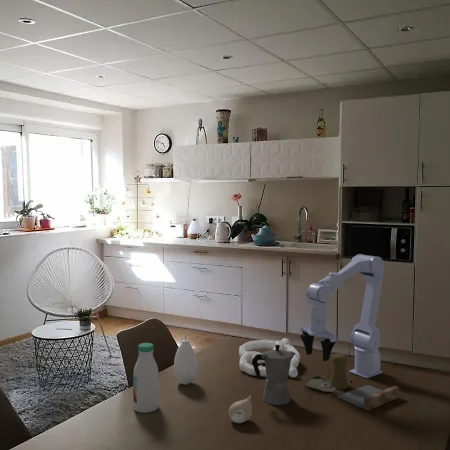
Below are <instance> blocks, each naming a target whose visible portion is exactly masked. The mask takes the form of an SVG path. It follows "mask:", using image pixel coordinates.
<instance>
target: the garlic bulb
mask: <svg viewBox="0 0 450 450" xmlns="http://www.w3.org/2000/svg"><path fill="white" fill-rule="evenodd" d="M251 398H252V395H251V394H250V395H248V396H247V397H245V398H244V399H241V400H238V401H235V402H234V403H232V404H231V405H230V407H229V409H228V412H227V413H228V416H229V418H230V420H231V421H233V422H234V423H236V424H242V423H245V422H247V421H249V420H250V419H251V418H252V417H251V416H252V413H253V404H252V402H251Z"/></svg>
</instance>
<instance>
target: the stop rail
mask: <svg viewBox="0 0 450 450" xmlns="http://www.w3.org/2000/svg"><path fill="white" fill-rule="evenodd" d="M381 390H382V389H381ZM399 390H400V389H399V386H396V385H393V386H391V387H388V388H385V389H383V390H382V391H380V392H377V393H375V394H372V395H370V396H368V397H365V398H364V408H363V409H364V410H365V411H368V412H369V411H371V410H373V409H375V408H377V407H380V406H383V405H385V404H386V403H387V404H388V403H389V402H392V401H394V400H397V399H398V398H399Z"/></svg>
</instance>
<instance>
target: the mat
mask: <svg viewBox="0 0 450 450" xmlns="http://www.w3.org/2000/svg"><path fill="white" fill-rule="evenodd" d="M380 391H382V389H380V388H377V387H375V386H373V385H370V384H366V385H364V386H361V387H358V388H356V389H353V390H350V391H347V392H345V393H343V394H339V395H337V398H338V399H340V400H343V401H344V402H347V403H349V404H351V405H353V406H356V407H357V408H361V409H364V398H365V397H368V396H370V395H372V394H375V393H377V392H380Z"/></svg>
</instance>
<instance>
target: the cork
mask: <svg viewBox="0 0 450 450" xmlns="http://www.w3.org/2000/svg"><path fill="white" fill-rule="evenodd" d="M331 362H332V369H331V375H330V376H331V377H330V384H329V386H330V385H332V386H333V387H335V388H336V389H337V390H345V389H347V388H348V377H347V369H346V368H347V367H346V365H347V363H348V357H347V356H346V355H345V354H343V353H333V355H332V356H331ZM335 388H334V389H335ZM336 389H335V390H336Z"/></svg>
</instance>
